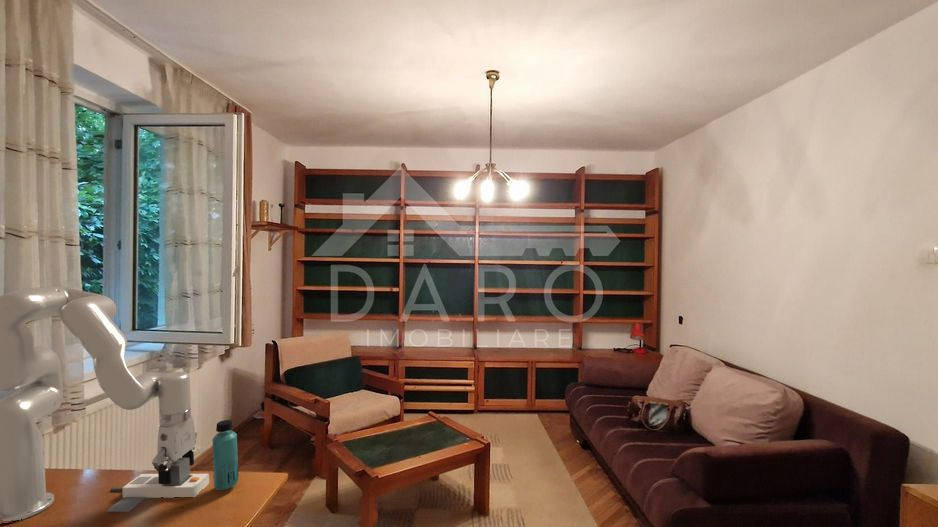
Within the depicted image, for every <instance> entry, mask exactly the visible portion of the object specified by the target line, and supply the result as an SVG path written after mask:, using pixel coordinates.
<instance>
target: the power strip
mask: <svg viewBox="0 0 938 527" xmlns="http://www.w3.org/2000/svg"><path fill="white" fill-rule="evenodd" d="M208 485H210V473H190V478H189V479H188V480H187V481H186V482H185V483H183V484H182V485H181V486H164V484H159V478H158V473H140V474H139V475H138V476H136V477H135V478H134V479H132V480H131V481H129V482H128V483H126V485H124V486H123V487H112V488H110V492H122V499H123V498H124V497H146V499H156V498H157V499H161V497H163V499H165V498H166V499H167V498H169V499H172V498H173V499H175V498H174V497H194V498H195V497H197V495H199V494H200V493H201V492H202V491H203V490H204V489H205V488H206V487H207V486H208ZM202 489H203V490H202ZM201 490H202V491H201ZM200 491H201V492H200ZM199 492H200V493H199Z"/></svg>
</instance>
